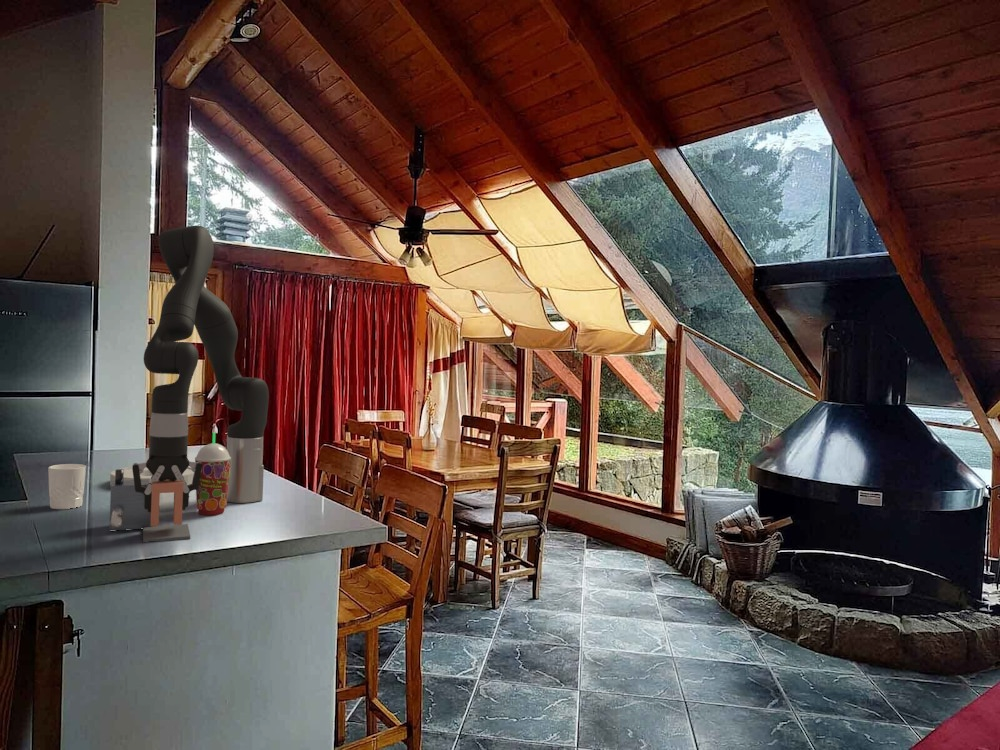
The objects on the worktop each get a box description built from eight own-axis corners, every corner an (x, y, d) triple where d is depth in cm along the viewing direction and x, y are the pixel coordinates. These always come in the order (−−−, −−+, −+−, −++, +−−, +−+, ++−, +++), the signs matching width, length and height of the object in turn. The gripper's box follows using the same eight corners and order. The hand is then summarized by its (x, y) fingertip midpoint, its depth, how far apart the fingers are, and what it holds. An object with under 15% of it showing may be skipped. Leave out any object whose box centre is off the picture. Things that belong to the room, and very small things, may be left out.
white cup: (91, 505, 172) (93, 466, 172) (60, 511, 165) (61, 470, 164) (71, 501, 175) (72, 462, 175) (39, 507, 168) (41, 466, 168)
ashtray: (98, 492, 188) (98, 478, 188) (123, 477, 211) (124, 464, 211) (189, 492, 194) (189, 478, 193) (204, 477, 216) (205, 465, 216)
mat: (187, 526, 156) (187, 523, 156) (190, 538, 147) (190, 536, 147) (143, 529, 152) (143, 526, 152) (142, 542, 143) (142, 539, 143)
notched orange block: (180, 518, 153) (182, 477, 153) (181, 524, 148) (183, 482, 148) (150, 519, 151) (152, 478, 150) (150, 526, 145) (152, 483, 145)
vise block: (110, 525, 155) (112, 467, 154) (155, 522, 159) (157, 466, 158) (106, 545, 139) (108, 482, 139) (156, 542, 143) (158, 480, 143)
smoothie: (194, 517, 165) (196, 434, 164) (191, 510, 172) (194, 430, 172) (231, 515, 169) (234, 434, 168) (227, 508, 176) (230, 430, 175)
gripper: (203, 431, 156) (201, 504, 156) (131, 431, 149) (129, 508, 149) (206, 435, 149) (203, 512, 149) (131, 435, 142) (128, 516, 143)
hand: (166, 510), depth 149 cm, fingers closed on notched orange block, 6 cm apart
